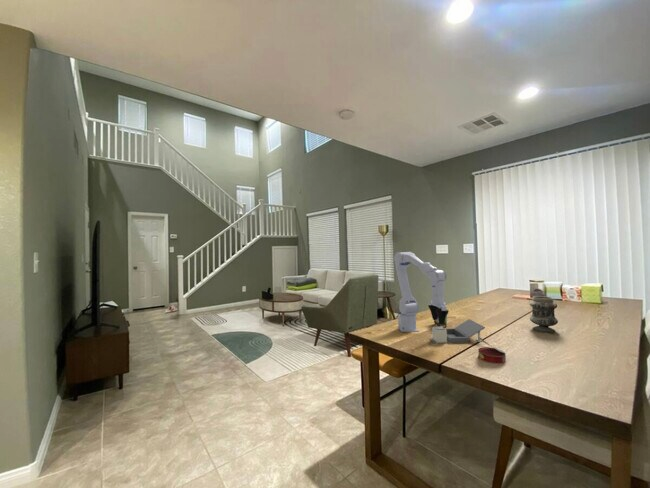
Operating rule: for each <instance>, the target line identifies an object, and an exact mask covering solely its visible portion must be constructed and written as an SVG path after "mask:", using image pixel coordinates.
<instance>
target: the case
mask: <svg viewBox="0 0 650 488" xmlns="http://www.w3.org/2000/svg"><path fill="white" fill-rule="evenodd" d="M445 329H446V330H447V342H448V343H449V344H458V343H459V344H462V343H463V344H465V343H466V344H467V343H470V338H471V337H473V336H475V335H477V339H475V341H477V342H478V343H480V342H481V343H482V342H483V341H481V340H480V338H481V331H483V330H485V329H486V327H485V326H484V325H482V324H481V323H480V324H479V323H478V322H476V321H474V320H472V319H470V318H468V319H467V320H465V321H463V322H462V323H460V324H459V325H457V326H455V327H454V328H452V327H451V328H445Z"/></svg>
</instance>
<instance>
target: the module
mask: <svg viewBox="0 0 650 488" xmlns="http://www.w3.org/2000/svg"><path fill="white" fill-rule="evenodd" d="M446 329H447V328H443V327H438V326H432V329H431V331H432V333H431V334H432V338H433V340H434V341H435V342H437V343H442V342H448V341H447V330H446Z"/></svg>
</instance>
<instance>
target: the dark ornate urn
mask: <svg viewBox="0 0 650 488" xmlns="http://www.w3.org/2000/svg"><path fill="white" fill-rule="evenodd" d="M529 305H530V307H532V313H531V314H532V315H530V316H529V321H530V322H532V323H533V324H535V326H533V327H532V328H531V329H532V330H533V331H535V332H539V333H543V334H544V333H545V334H554V333H556V329H554V328H552V326H555V325H557V324H558V322H559V320H558V319H557V317H556V315H555V309H557V308H558V304H557V303H556V302H555V301H554V298H553V297H552V296H544V295H533V297H532V299H531V300H530V301H529Z"/></svg>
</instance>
